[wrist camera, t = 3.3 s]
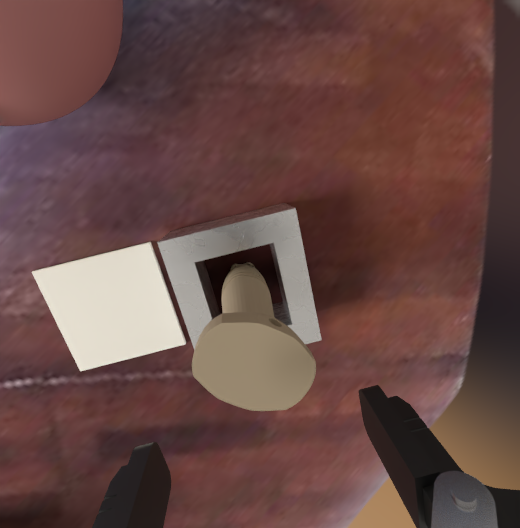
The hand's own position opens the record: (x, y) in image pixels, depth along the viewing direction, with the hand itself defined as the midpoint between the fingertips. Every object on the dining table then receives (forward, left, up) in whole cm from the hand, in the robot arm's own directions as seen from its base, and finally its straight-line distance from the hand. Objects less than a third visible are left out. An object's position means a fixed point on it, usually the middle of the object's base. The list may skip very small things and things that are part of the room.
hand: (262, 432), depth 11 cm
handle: (0, 0, -19) cm, 19 cm away
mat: (0, -13, -19) cm, 23 cm away
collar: (0, 0, -19) cm, 19 cm away
